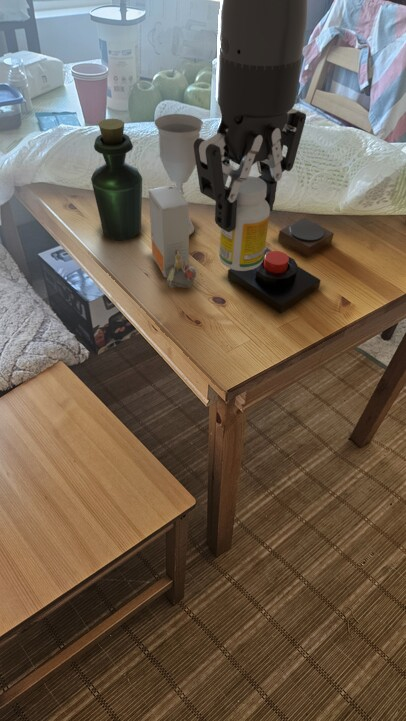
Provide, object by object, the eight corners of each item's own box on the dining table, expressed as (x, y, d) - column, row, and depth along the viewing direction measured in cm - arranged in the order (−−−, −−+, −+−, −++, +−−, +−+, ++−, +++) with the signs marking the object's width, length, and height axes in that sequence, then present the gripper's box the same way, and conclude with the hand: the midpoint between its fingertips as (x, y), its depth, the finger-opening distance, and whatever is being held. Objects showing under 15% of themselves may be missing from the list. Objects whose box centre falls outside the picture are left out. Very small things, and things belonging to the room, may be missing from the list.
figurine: (183, 271, 80) (183, 238, 76) (203, 283, 78) (204, 250, 74) (158, 285, 78) (157, 252, 73) (178, 298, 76) (178, 265, 71)
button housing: (318, 288, 78) (323, 270, 76) (280, 313, 74) (283, 295, 71) (266, 256, 84) (268, 238, 81) (227, 278, 79) (228, 259, 77)
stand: (331, 244, 87) (334, 231, 85) (307, 258, 84) (309, 245, 82) (302, 228, 90) (304, 215, 88) (277, 241, 87) (279, 228, 85)
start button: (292, 268, 76) (294, 258, 75) (276, 277, 75) (277, 267, 73) (274, 257, 78) (276, 247, 77) (258, 266, 77) (259, 256, 75)
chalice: (154, 237, 87) (149, 129, 74) (163, 216, 91) (159, 112, 78) (196, 242, 86) (199, 134, 73) (203, 220, 91) (206, 116, 77)
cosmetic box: (151, 257, 83) (147, 188, 74) (175, 251, 84) (174, 183, 75) (164, 278, 79) (161, 209, 70) (189, 272, 80) (190, 203, 71)
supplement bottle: (213, 267, 60) (216, 191, 53) (226, 242, 63) (230, 169, 56) (257, 276, 59) (266, 200, 52) (268, 251, 62) (278, 177, 55)
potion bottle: (123, 212, 92) (113, 108, 79) (155, 229, 88) (150, 123, 75) (88, 230, 87) (71, 123, 74) (120, 249, 84) (109, 140, 71)
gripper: (232, 77, 40) (222, 258, 52) (343, 43, 46) (311, 210, 59) (170, 54, 43) (174, 227, 56) (282, 26, 50) (263, 186, 62)
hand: (245, 218), depth 57 cm, fingers closed on supplement bottle, 5 cm apart
